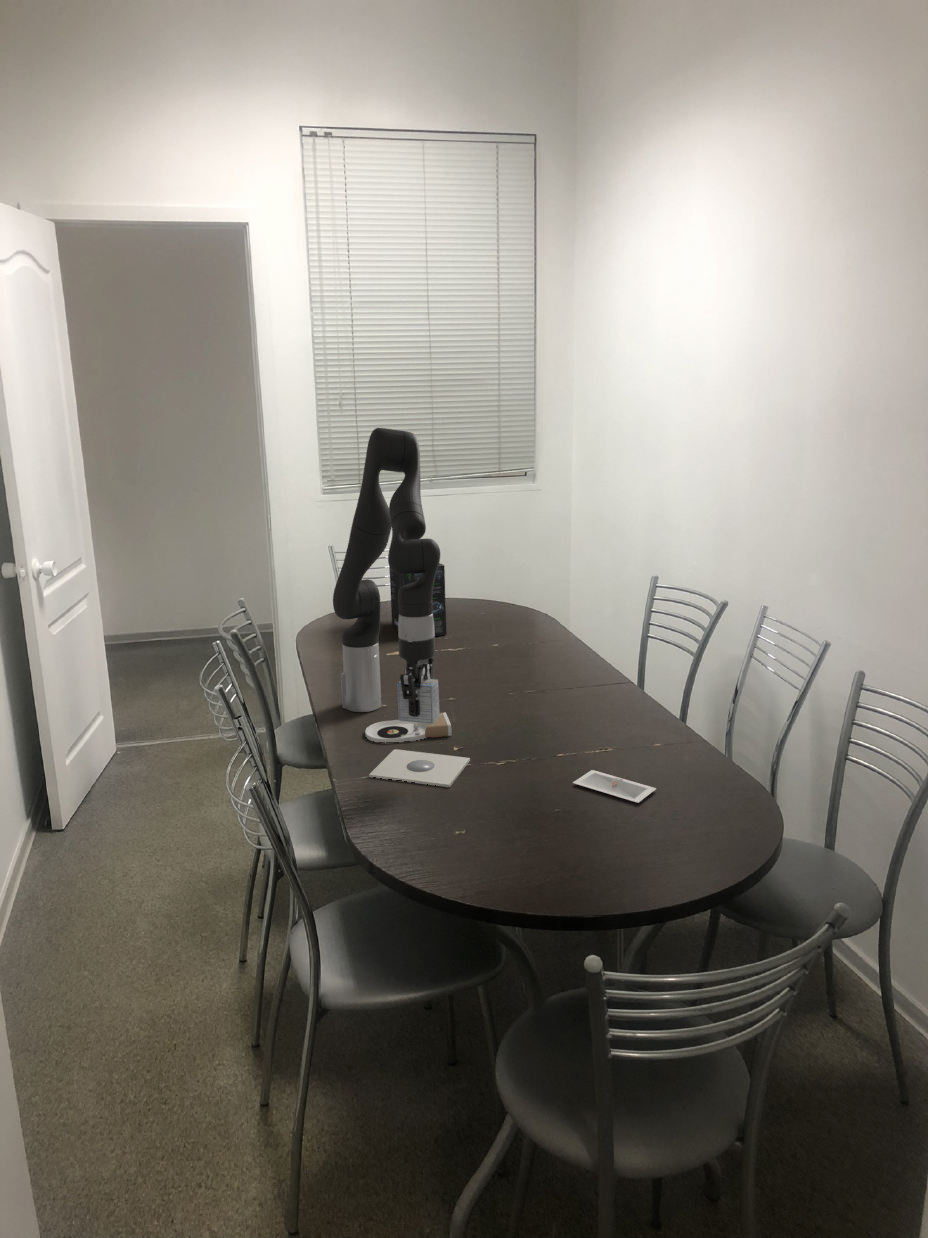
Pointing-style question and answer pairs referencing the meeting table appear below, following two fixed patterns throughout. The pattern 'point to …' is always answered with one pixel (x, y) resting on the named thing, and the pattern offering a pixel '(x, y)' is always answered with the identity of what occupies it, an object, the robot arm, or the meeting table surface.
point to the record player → (408, 730)
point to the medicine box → (421, 703)
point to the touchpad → (615, 786)
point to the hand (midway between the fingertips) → (418, 711)
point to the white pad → (420, 767)
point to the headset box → (437, 597)
